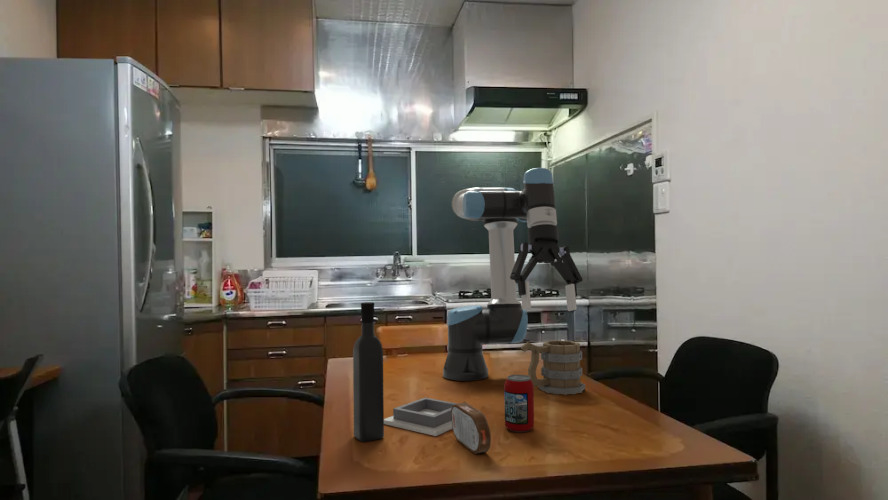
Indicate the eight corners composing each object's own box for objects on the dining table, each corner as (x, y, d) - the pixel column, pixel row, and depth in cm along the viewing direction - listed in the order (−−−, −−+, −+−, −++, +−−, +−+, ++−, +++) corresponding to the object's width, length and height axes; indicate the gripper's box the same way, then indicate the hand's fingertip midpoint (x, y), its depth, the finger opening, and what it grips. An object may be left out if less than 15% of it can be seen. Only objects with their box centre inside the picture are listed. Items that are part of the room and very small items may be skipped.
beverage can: (498, 429, 124) (498, 377, 124) (515, 422, 129) (515, 372, 129) (523, 435, 119) (522, 381, 120) (539, 428, 124) (539, 376, 124)
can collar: (423, 408, 142) (423, 394, 142) (474, 418, 133) (474, 404, 133) (382, 423, 129) (382, 409, 129) (435, 436, 120) (435, 420, 120)
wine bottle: (352, 435, 120) (351, 302, 121) (375, 431, 123) (374, 301, 124) (361, 443, 116) (359, 304, 116) (385, 438, 118) (384, 303, 119)
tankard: (569, 383, 169) (568, 335, 169) (592, 392, 157) (591, 341, 157) (511, 388, 162) (510, 339, 162) (531, 399, 150) (530, 345, 150)
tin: (492, 457, 107) (492, 415, 107) (478, 460, 105) (477, 417, 106) (461, 435, 121) (461, 397, 121) (448, 436, 119) (448, 399, 119)
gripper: (508, 218, 129) (514, 305, 123) (590, 227, 139) (599, 308, 134) (492, 227, 135) (498, 310, 130) (572, 235, 146) (580, 312, 140)
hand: (549, 309), depth 132 cm, fingers open, 13 cm apart
